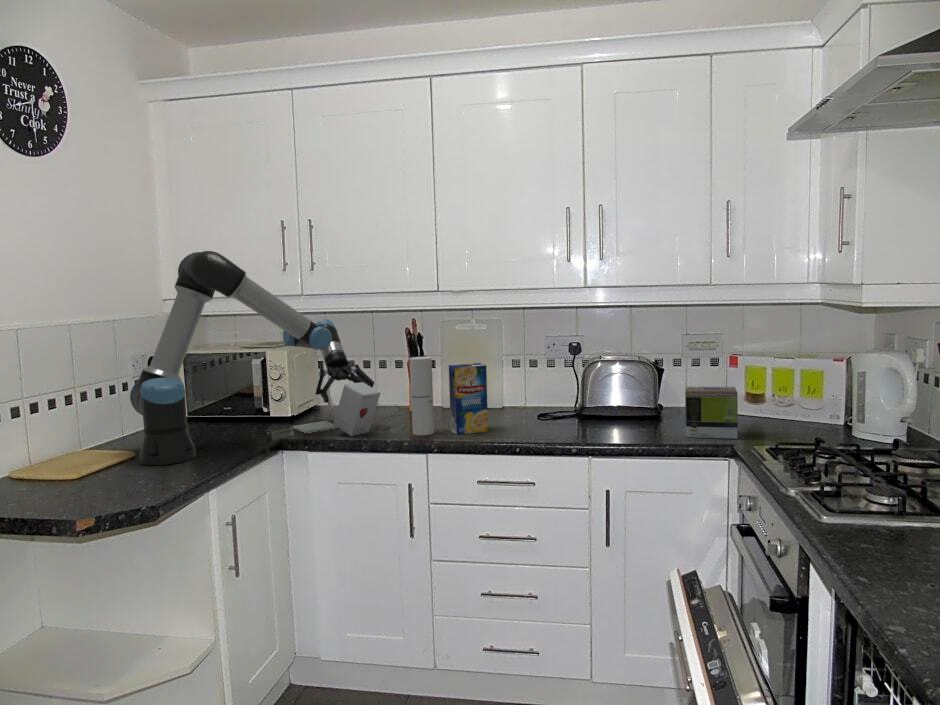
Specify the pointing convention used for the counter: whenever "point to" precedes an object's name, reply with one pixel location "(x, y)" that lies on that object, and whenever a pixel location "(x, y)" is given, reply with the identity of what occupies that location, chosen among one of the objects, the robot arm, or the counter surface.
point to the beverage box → (468, 398)
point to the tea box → (711, 412)
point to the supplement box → (356, 408)
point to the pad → (315, 427)
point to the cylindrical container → (422, 395)
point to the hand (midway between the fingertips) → (351, 406)
